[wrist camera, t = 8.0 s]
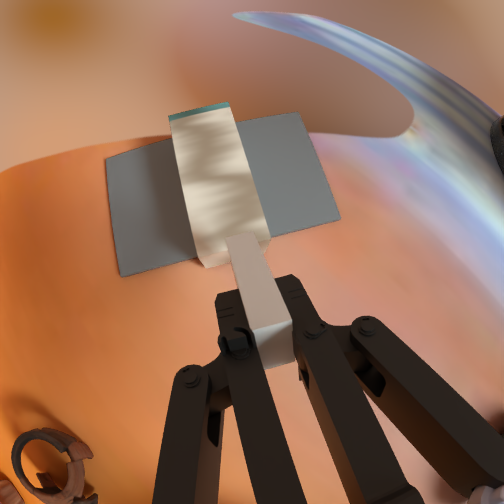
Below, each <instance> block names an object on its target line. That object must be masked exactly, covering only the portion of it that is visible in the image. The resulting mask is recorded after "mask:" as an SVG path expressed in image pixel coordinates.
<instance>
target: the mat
mask: <svg viewBox="0 0 504 504" xmlns="http://www.w3.org/2000/svg"><path fill="white" fill-rule="evenodd" d="M235 124H236V127H237V130H238V133H239V136H240V139H241V143H242V146H243V149H244V152H245V155H246V158H247V161H248V165H249V168H250V171H251V174H252V177H253V181H254V184H255V187H256V190H257V193H258V197H259V200H260V203H261V206H262V210H263V213H264V216H265V220H266V223H267V226H268V230H269V233H270V236H271V238H272V237H276V236H280V235H284V234H288V233H291V232H295V231H299V230H303V229H307V228H311V227H315V226H319V225H322V224H326V223H330V222H334V221H338V220H340V219H341V216H340V214H339V211H338V208H337V205H336V202H335V200H334V197H333V194H332V192H331V189H330V186H329V184H328V181H327V179H326V176H325V173H324V171H323V168H322V166H321V163H320V161H319V159H318V156H317V154H316V151H315V149H314V146H313V144H312V142H311V139H310V137H309V135H308V132H307V130H306V128H305V126H304V123H303V121H302V119H301V117H300V114H299V112H293V113H286V114H279V115H273V116H267V117H261V118H256V119H250V120H245V121H240V122H235ZM106 169H107V182H108V193H109V202H110V211H111V219H112V227H113V234H114V241H115V247H116V253H117V259H118V265H119V270H120V276H121V277H126V276H130V275H134V274H137V273H141V272H145V271H148V270H152V269H156V268H159V267H163V266H167V265H170V264H174V263H178V262H182V261H185V260H189V259H193V258H197V257H198V255H197V251H196V247H195V243H194V238H193V234H192V230H191V225H190V221H189V217H188V212H187V208H186V203H185V198H184V194H183V189H182V184H181V180H180V175H179V170H178V165H177V160H176V155H175V150H174V144H173V139H172V138H170V139H166V140H163V141H159V142H156V143H153V144H149V145H146V146H143V147H140V148H137V149H134V150H131V151H128V152H125V153H122V154H119V155H116V156H113V157H110V158H107V159H106Z"/></svg>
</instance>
